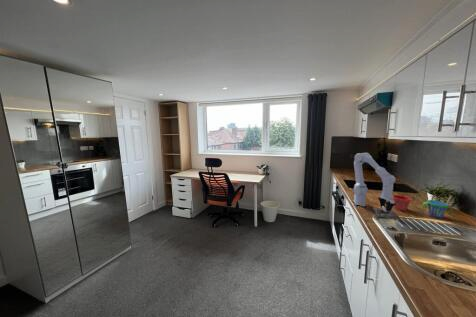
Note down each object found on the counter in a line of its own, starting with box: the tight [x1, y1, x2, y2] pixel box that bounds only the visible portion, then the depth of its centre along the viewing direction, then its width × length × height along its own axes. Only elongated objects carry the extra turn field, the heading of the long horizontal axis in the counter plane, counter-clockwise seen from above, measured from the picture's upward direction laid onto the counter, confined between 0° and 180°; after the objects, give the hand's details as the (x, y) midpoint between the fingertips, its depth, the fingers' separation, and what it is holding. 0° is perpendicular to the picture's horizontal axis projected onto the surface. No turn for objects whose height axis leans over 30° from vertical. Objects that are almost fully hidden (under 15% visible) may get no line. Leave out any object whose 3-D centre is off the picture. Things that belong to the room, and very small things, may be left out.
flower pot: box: [392, 194, 412, 212], centre depth 146 cm, size 11×11×10 cm
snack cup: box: [421, 199, 453, 219], centre depth 133 cm, size 16×10×10 cm
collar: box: [372, 207, 400, 220], centre depth 137 cm, size 12×12×4 cm
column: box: [381, 204, 388, 213], centre depth 137 cm, size 4×4×6 cm
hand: (385, 209), depth 137 cm, fingers open, 7 cm apart
